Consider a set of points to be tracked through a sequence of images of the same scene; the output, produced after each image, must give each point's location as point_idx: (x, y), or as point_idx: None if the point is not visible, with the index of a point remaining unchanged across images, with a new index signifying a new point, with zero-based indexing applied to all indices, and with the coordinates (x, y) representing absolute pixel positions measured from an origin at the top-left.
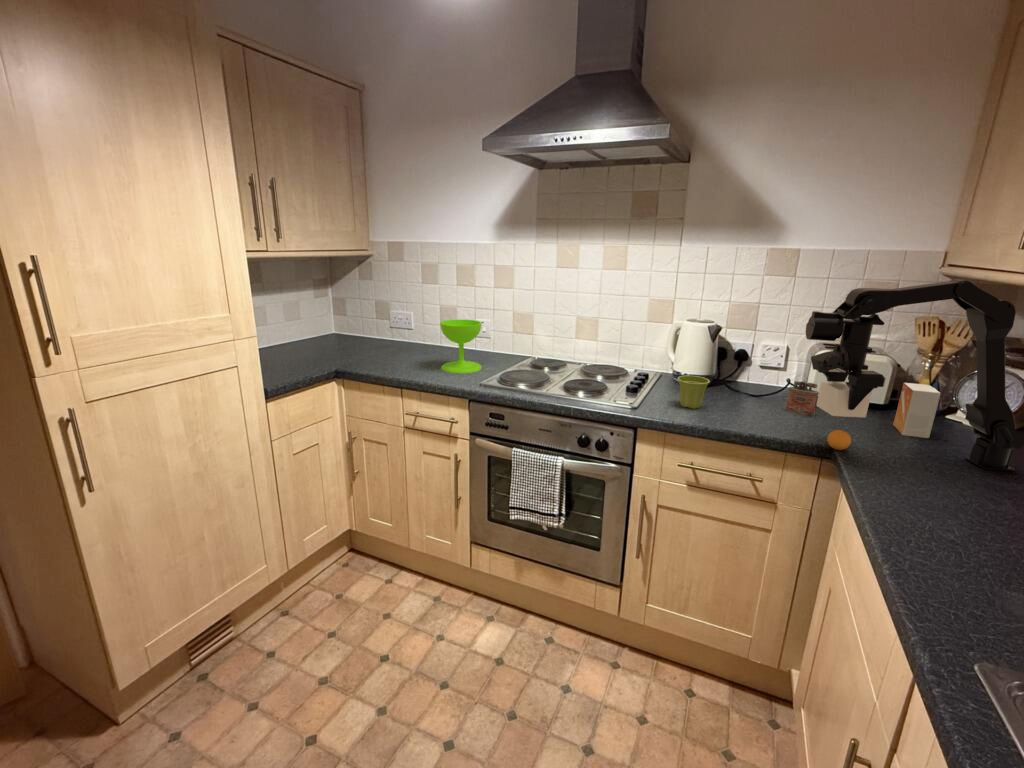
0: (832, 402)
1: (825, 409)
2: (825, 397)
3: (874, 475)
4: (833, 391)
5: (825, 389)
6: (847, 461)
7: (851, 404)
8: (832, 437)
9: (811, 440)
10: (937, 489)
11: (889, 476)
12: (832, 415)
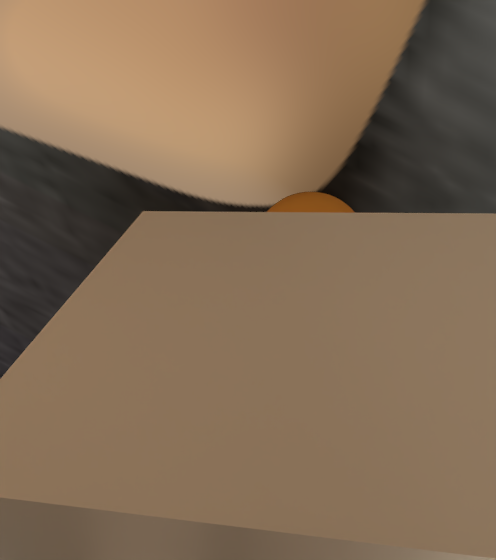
0: (151, 287)
1: (288, 221)
2: (346, 301)
3: (43, 226)
4: (120, 420)
5: (425, 404)
6: (161, 194)
7: None
8: (291, 211)
9: (436, 146)
10: (15, 348)
11: (58, 274)
12: (145, 212)
